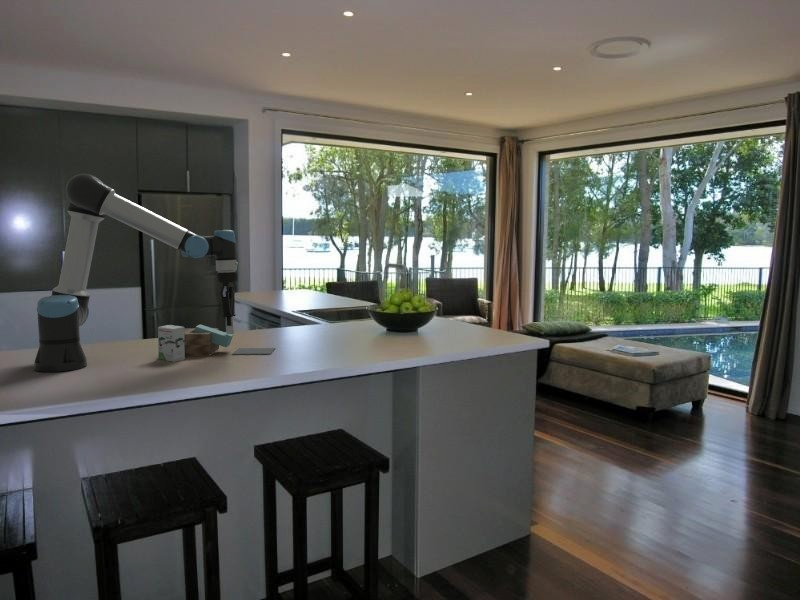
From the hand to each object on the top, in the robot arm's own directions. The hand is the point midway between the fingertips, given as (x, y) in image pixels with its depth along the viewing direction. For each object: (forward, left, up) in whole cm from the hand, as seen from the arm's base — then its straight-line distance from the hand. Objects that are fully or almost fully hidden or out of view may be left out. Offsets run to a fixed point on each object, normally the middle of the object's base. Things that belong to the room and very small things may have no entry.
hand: (230, 333), depth 227 cm
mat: (+9, 0, -7) cm, 11 cm away
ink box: (-18, -14, -7) cm, 23 cm away
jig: (-14, 0, -7) cm, 16 cm away
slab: (-7, 0, -3) cm, 8 cm away
